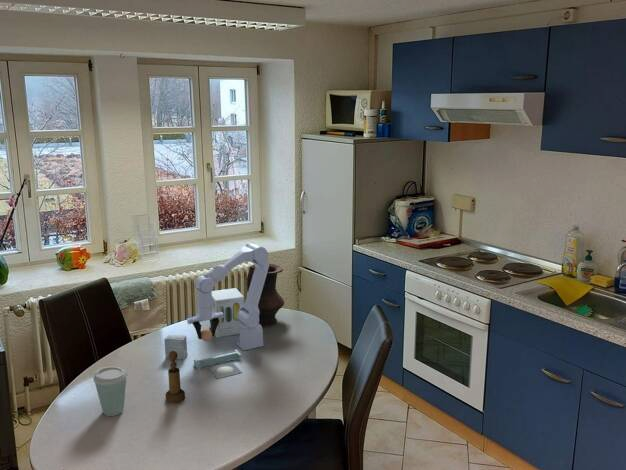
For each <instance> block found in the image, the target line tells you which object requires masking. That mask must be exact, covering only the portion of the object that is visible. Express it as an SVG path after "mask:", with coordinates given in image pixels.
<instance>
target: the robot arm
mask: <svg viewBox="0 0 626 470" xmlns="http://www.w3.org/2000/svg"><path fill="white" fill-rule="evenodd" d="M269 255H270V254H269V252H268V250H267V248H265V247H263V246H261V245H258V244H256V243H254V242H253V241H252V242H248V243H246V244H245V245H244V246H242V247H241V248H240V250H239V251H237V253H236V254H234V255H233V256H232V257H231V258H229V259H227V261H226V262H224V263H223V264H215V265H214V266H213V268H212V269H210V270H209V271H208V272H205V273H204V274H203V275H199V276H197V277H196V279H195V281H194V282H193V286H194V287H195V289H196V294H197V295H196V296H197V298H196V299H197V315H194V316H191V317H188V318H186V322H187V324H188V325H193V327H194V329H195V332H196V334H197V338H198V340H202V339H201V331H202V324H201V322H206V321H209V324H210V323H211V328H210V330H211V331H212V338H214V337H216V336H215V331H216V328H217V326H218V324H219V319H218V318H223V313H222V312H218V313H212V291H214V288H215V286H216V285H217V284H218V283H219V282H221V281H222V280H223V279H225V278H226V277H227V276H228V273H229V271H231V270H233V269H234V268H235V267H238V266H239V265H240V264H242V263H244V262H252V263H253V264H252V265H255V270H254V273H253V277H252V280H251V284H250V287H249V291H248V292H247V293H248V294H247V295H246V299H245V300H246V301H245V300H244V302H245V303H243V304H242V305H241V308H240V309H239V311H238V312H237V315H236V317H237V320H238V321H239V329H240V334H239V341H237V342H236V345H237V346H238V347H239V348H240V349H241V350H243V351H247V350H251V349H256V348H260V347H264V346H265V344H264V333H263V332H264V331H263V326H261V325H260V324H258V323H259V313H260V312H259V308H258V303H259V299H260V296H261V293H262V289H263V286H264V282H265V279H266V275H267V272H268V268H269V264H270V263H269Z"/></svg>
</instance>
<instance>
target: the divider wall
mask: <svg viewBox="0 0 626 470" xmlns="http://www.w3.org/2000/svg"><path fill="white" fill-rule="evenodd" d="M233 350H234V351H233V352H230V353H225V354H220V355H218V356H212V357H211V356H210V357H207V358H202V359H197V358H193V365H194V367H195V368H196V369H197V370H198V371H199V370H201V368H202V367H206V366H212V365H215V364H219V363H224V362H228V361H232V360H237V361H242V354H241V352H239V350H237V349H233Z"/></svg>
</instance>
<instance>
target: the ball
mask: <svg viewBox="0 0 626 470" xmlns="http://www.w3.org/2000/svg"><path fill="white" fill-rule="evenodd" d="M212 339H213V336H212V331H211V328H210V329H209V328H203V329H201V339H200V340H202V341H204V342H208V341H210V340H212Z"/></svg>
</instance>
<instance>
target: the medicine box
mask: <svg viewBox="0 0 626 470" xmlns="http://www.w3.org/2000/svg"><path fill="white" fill-rule="evenodd" d="M163 340H164V352H165V353H164V354H165V359H169V353H170V352H171V351H175V352H176V353H177V355H178V356H177V359H176V360H185V359H186V357H187V355H188V342H187V341H188V340H187V336H186V335H179V334H177V335H176V334H168V335H166V337H165V338H164V339H163Z"/></svg>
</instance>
